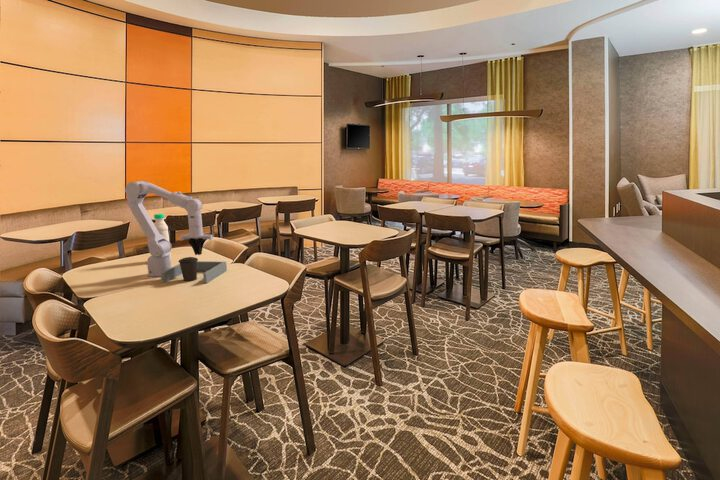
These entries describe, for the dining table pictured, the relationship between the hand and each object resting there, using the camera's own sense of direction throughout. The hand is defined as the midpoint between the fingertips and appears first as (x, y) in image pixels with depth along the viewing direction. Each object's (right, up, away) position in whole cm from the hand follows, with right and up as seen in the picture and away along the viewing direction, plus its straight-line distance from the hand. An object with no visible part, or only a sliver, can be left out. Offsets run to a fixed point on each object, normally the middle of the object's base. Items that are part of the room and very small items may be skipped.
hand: (198, 254), depth 187 cm
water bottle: (-29, -5, +28) cm, 41 cm away
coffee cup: (-1, -11, -7) cm, 13 cm away
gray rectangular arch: (0, -10, -3) cm, 10 cm away
